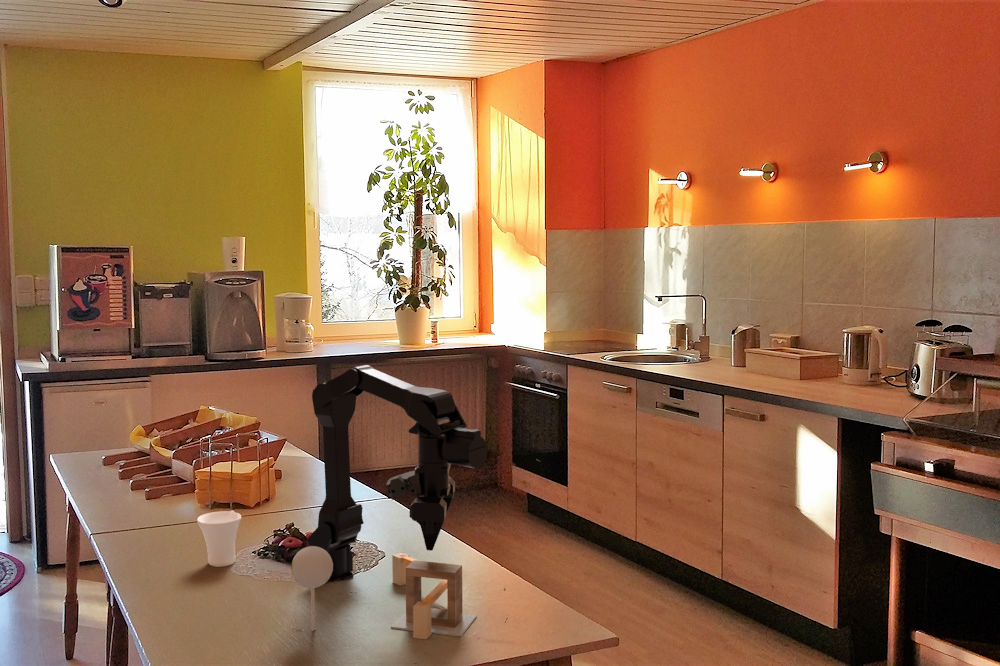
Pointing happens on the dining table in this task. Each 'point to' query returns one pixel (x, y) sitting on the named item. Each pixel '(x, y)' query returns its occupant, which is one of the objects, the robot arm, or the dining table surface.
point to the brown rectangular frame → (453, 591)
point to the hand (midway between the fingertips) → (432, 541)
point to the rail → (420, 608)
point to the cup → (220, 536)
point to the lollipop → (312, 571)
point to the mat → (457, 631)
